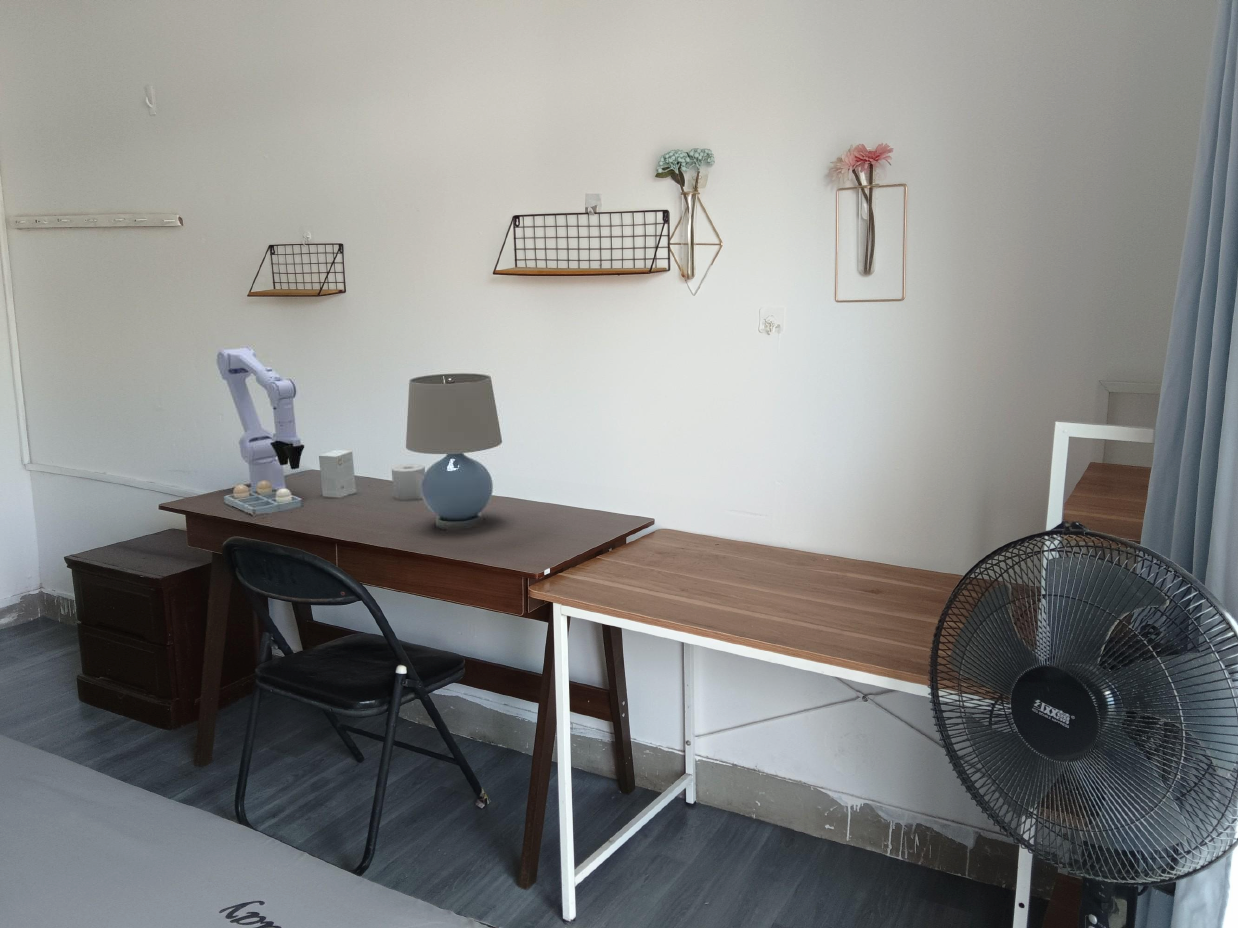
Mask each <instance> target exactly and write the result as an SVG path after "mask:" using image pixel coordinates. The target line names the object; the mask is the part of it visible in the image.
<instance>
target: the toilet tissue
mask: <svg viewBox="0 0 1238 928" xmlns="http://www.w3.org/2000/svg"><path fill="white" fill-rule="evenodd" d="M425 467H426V466H425V465H423V464H418V463H412V464H411V463H410V464H409V463H407V464H399V465H395V466H393V467H391V477H392V479H391V480H392V490H393V498H394V499H396V500H402V501H408V500H409V501H411V500H422V499H423V497H422V493H421V483H422V479H423V476H424V474H425V472H426V470H425V469H426V468H425Z"/></svg>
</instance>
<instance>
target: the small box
mask: <svg viewBox="0 0 1238 928" xmlns="http://www.w3.org/2000/svg"><path fill="white" fill-rule="evenodd" d="M353 457H354V455H353V451H352V450H345V449H343V450H342V449H334V450H332V451H328V452H326V453H322V454H319V455H318V461H319V469H320V471H319V472H320V478H321V481H320V482H321V491H322V497H325V498H326V497H328V498H337V499H340V498H344V497H345V496H348V495H350V494H351V495H353V494H356V493H357V488H356V486H357V485H356V478H355V467H354V466H355V465H354V458H353Z"/></svg>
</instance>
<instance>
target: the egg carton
mask: <svg viewBox="0 0 1238 928" xmlns="http://www.w3.org/2000/svg"><path fill="white" fill-rule="evenodd" d="M278 490H279V489H276V488H274V487H272V493H267V494H262V495H257V490H253V491H251V490H249V495H250V497H246V498H241V499H236V500H235V499H234V493H232V494H228V495H223V503H224V504H226V505H229V506H230V507H232V506H234V507H236V508H238V509H241V510H243V511H245V512H248V513H251V514H260V513H269V514H274V513H278V512H282V511H288V510H292V509H297V508H302V507H304V506H305V505H304V500H303V498H300V497H298V496H295V495H293V494H291V496H292V501H289V502H284V503H279V504H278V503H276V492H277V491H278ZM234 507H233V508H234ZM236 508H235V509H236ZM238 509H237V510H238ZM243 511H242V512H243ZM245 512H244V513H245ZM273 512H274V513H273Z"/></svg>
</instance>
